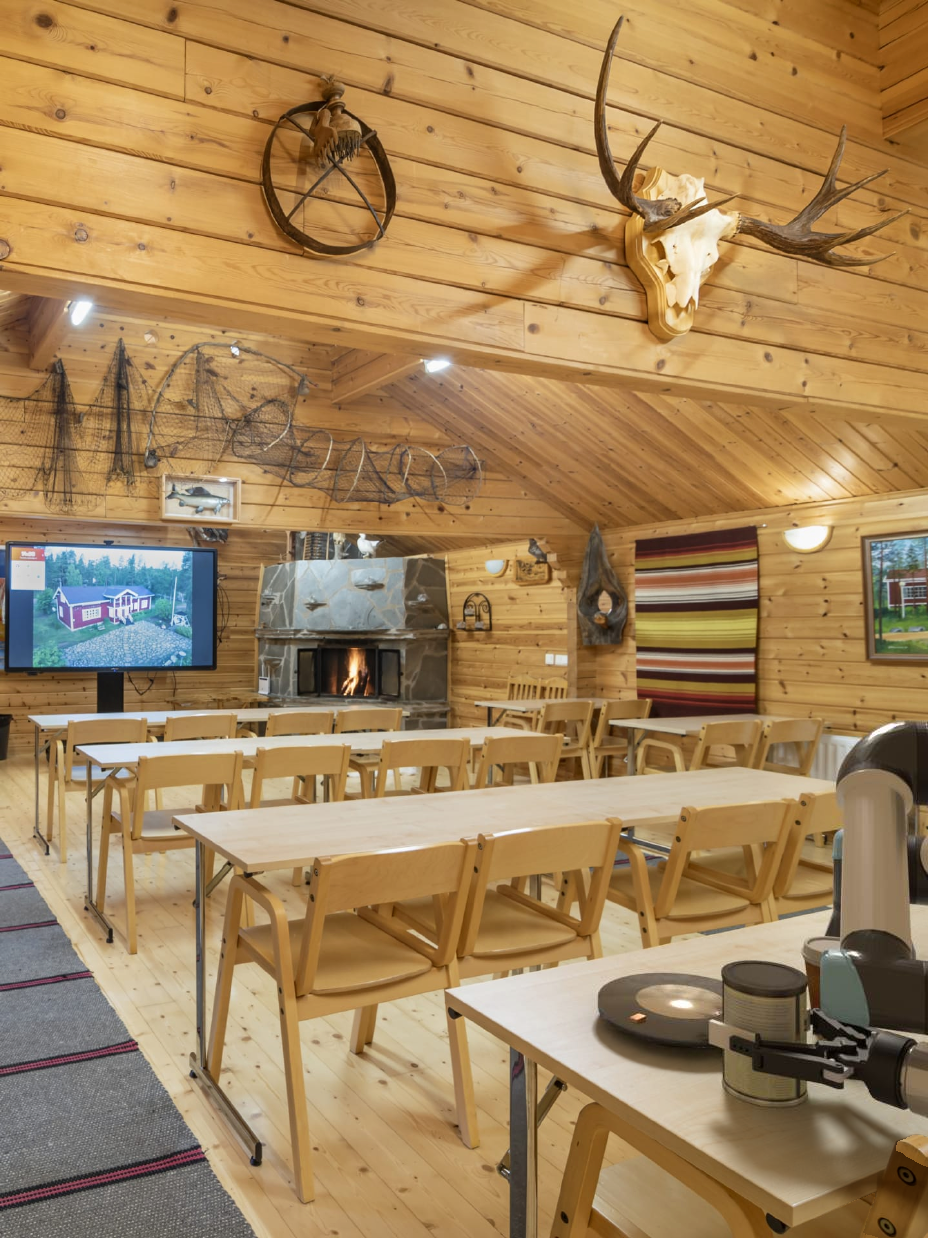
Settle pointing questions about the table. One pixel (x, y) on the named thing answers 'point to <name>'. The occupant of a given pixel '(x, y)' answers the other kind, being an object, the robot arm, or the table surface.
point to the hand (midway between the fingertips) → (737, 1018)
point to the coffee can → (764, 1027)
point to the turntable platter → (663, 1007)
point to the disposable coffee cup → (816, 964)
